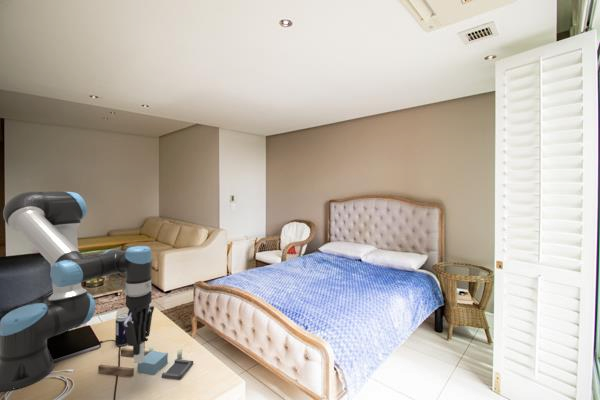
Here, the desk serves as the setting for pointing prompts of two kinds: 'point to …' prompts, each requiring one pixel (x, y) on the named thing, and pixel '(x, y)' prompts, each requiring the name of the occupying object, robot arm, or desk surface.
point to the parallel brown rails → (120, 370)
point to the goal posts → (179, 352)
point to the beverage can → (121, 330)
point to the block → (153, 362)
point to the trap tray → (178, 369)
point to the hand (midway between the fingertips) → (139, 361)
